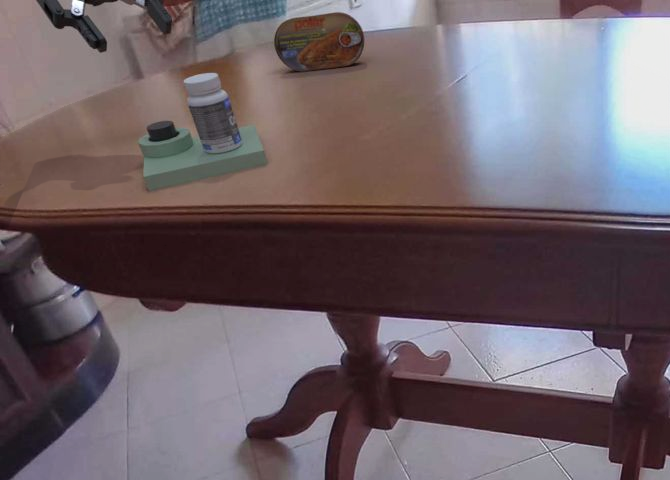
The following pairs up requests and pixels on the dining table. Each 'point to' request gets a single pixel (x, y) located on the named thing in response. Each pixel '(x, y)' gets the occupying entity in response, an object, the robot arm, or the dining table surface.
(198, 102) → the pill bottle
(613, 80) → the dining table surface
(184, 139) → the scale
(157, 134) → the button
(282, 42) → the tin
